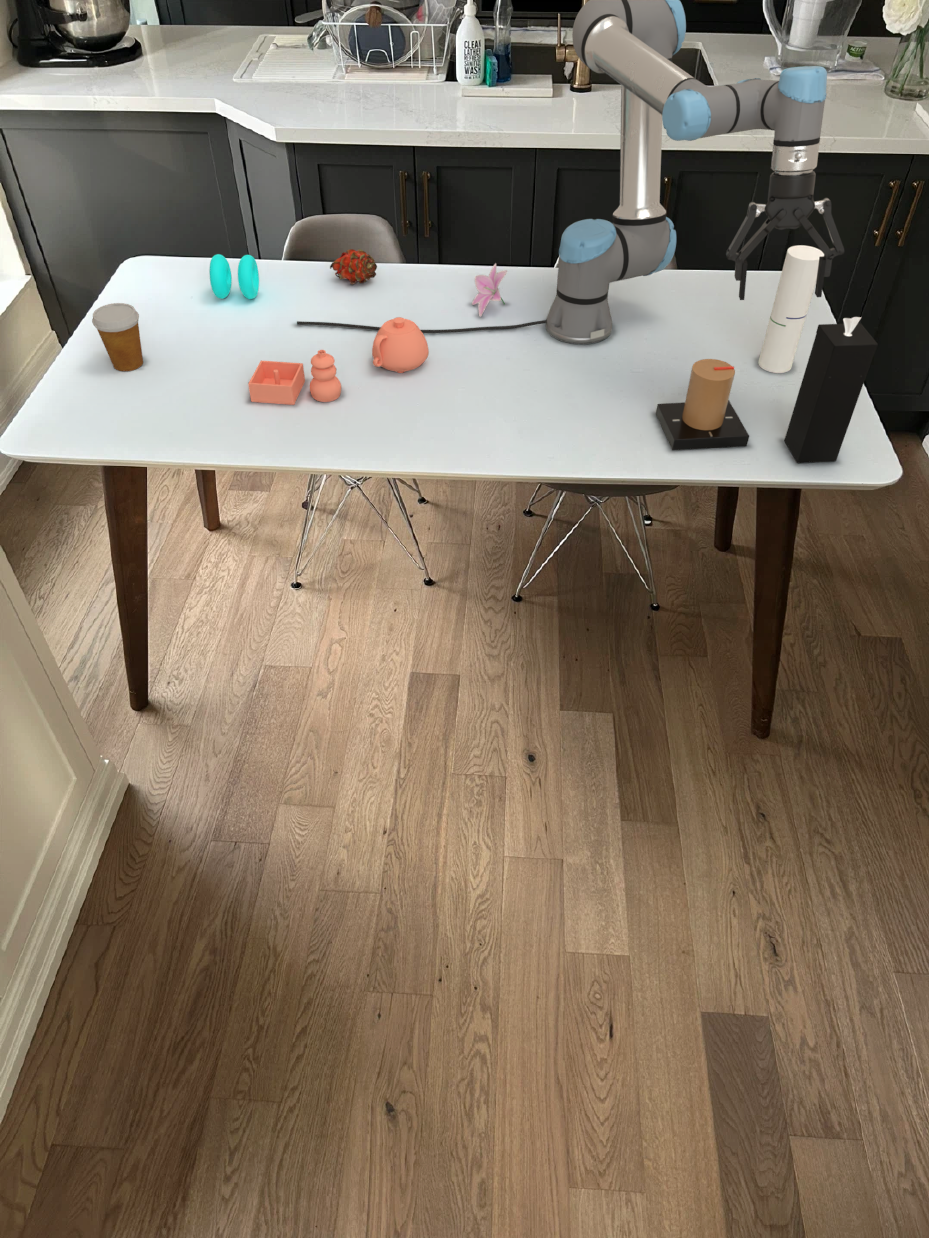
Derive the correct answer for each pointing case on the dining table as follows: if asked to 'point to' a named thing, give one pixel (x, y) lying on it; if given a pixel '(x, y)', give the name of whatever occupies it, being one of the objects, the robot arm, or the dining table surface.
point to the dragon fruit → (354, 266)
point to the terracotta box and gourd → (294, 381)
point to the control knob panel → (692, 438)
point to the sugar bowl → (399, 346)
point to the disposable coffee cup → (120, 335)
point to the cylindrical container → (790, 308)
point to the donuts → (223, 279)
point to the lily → (488, 288)
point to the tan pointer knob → (708, 394)
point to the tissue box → (829, 390)
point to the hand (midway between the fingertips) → (779, 297)
